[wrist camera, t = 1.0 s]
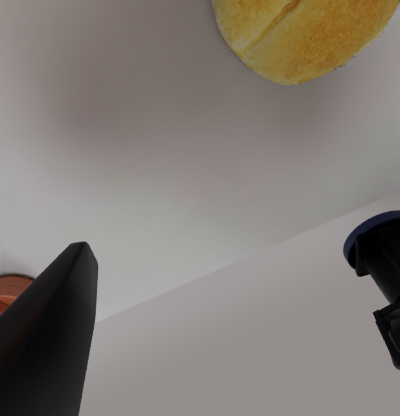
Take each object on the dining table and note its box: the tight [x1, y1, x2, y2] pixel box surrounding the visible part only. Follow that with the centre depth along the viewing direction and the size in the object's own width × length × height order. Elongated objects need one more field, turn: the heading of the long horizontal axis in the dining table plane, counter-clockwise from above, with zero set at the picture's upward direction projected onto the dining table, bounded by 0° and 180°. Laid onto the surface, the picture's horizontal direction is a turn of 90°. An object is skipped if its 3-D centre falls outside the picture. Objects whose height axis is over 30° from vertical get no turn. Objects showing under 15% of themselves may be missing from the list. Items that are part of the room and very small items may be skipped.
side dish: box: [0, 276, 33, 315], centre depth 26 cm, size 5×5×2 cm
